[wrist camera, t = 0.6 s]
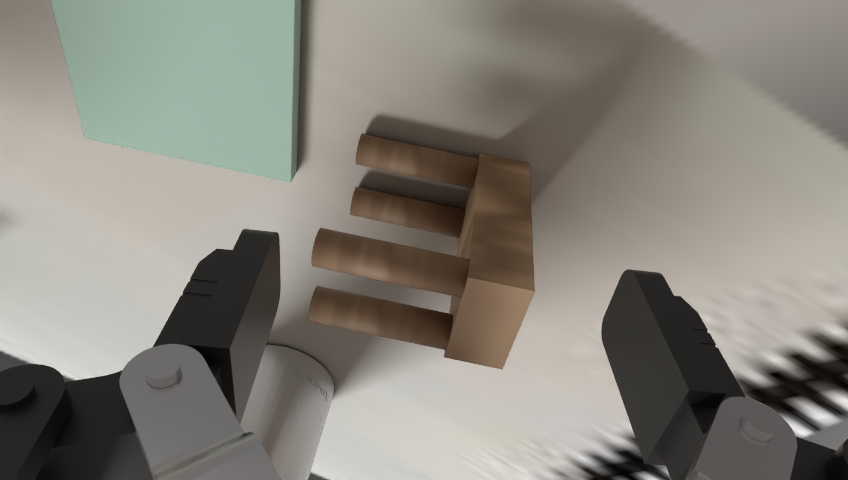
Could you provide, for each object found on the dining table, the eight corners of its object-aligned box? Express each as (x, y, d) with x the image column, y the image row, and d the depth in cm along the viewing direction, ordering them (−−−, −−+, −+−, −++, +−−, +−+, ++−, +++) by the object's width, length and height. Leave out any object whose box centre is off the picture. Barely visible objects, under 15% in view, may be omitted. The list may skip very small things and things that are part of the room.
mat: (296, 172, 36) (290, 182, 35) (95, 129, 36) (84, 138, 35) (302, -49, 28) (295, -44, 27) (42, -106, 28) (25, -102, 27)
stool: (529, 163, 33) (534, 291, 25) (505, 235, 37) (502, 369, 28) (363, 128, 33) (312, 244, 25) (355, 204, 37) (307, 328, 28)
